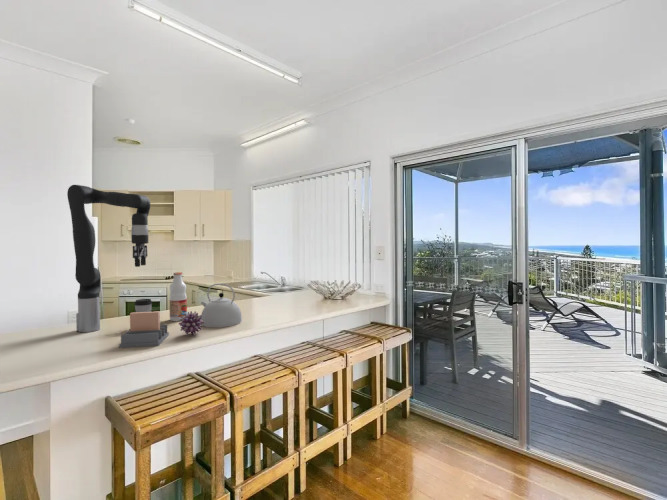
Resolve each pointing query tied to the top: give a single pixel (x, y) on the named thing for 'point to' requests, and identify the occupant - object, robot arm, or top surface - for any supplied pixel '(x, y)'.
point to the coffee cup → (143, 305)
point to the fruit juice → (177, 298)
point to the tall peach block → (144, 321)
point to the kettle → (220, 311)
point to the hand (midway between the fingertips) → (140, 266)
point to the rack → (144, 337)
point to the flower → (191, 322)
